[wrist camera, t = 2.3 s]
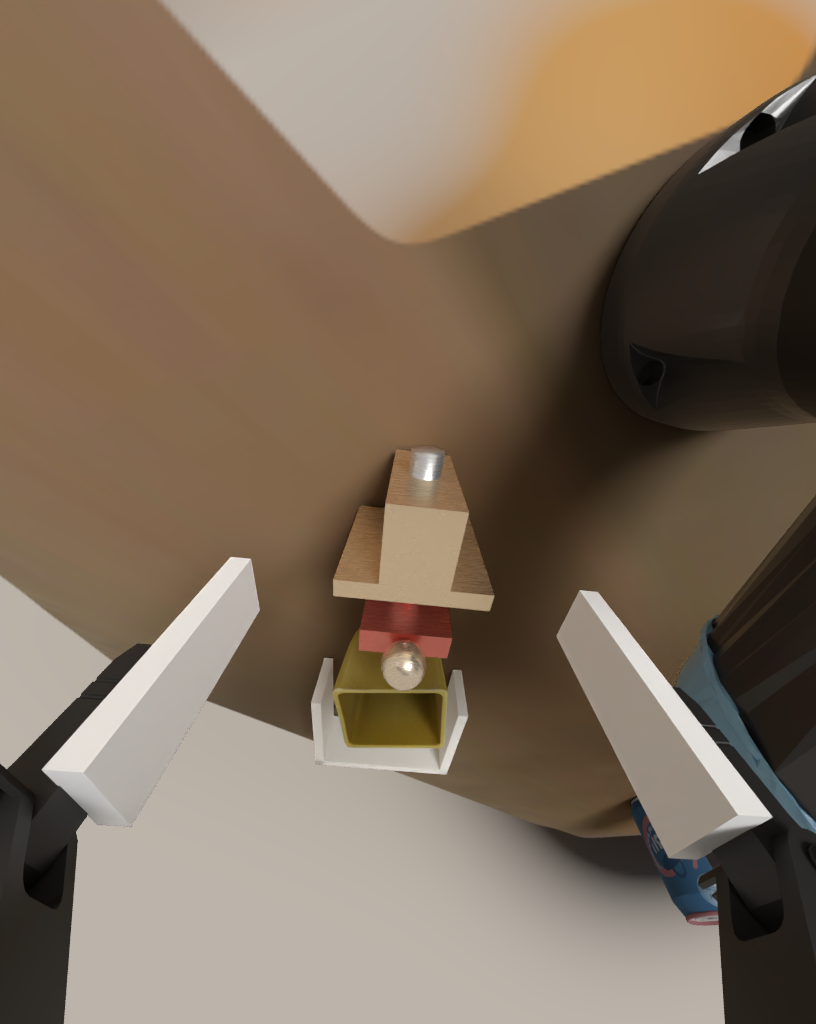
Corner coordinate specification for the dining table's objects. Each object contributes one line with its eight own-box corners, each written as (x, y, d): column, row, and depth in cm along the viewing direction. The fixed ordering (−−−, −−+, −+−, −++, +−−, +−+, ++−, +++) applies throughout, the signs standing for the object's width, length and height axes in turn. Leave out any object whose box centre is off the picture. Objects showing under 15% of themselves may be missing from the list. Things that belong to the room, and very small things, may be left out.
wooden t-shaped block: (487, 438, 22) (549, 512, 12) (453, 579, 28) (474, 707, 18) (363, 424, 21) (317, 487, 11) (357, 570, 28) (325, 694, 18)
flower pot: (437, 657, 34) (444, 751, 26) (361, 657, 34) (345, 749, 26) (439, 600, 30) (448, 690, 22) (352, 600, 30) (330, 690, 22)
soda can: (654, 788, 48) (722, 911, 37) (680, 799, 50) (752, 920, 39) (618, 802, 51) (671, 921, 40) (643, 812, 52) (701, 929, 42)
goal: (461, 670, 35) (468, 716, 30) (443, 729, 41) (446, 774, 36) (324, 657, 34) (310, 702, 30) (326, 719, 40) (315, 764, 36)
